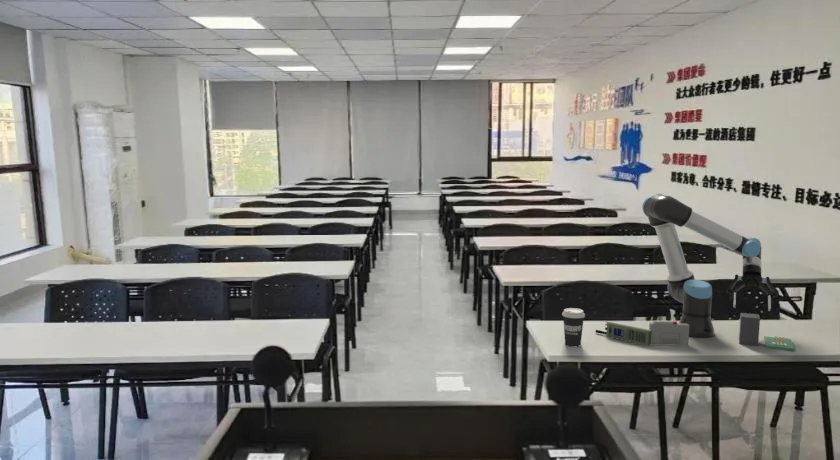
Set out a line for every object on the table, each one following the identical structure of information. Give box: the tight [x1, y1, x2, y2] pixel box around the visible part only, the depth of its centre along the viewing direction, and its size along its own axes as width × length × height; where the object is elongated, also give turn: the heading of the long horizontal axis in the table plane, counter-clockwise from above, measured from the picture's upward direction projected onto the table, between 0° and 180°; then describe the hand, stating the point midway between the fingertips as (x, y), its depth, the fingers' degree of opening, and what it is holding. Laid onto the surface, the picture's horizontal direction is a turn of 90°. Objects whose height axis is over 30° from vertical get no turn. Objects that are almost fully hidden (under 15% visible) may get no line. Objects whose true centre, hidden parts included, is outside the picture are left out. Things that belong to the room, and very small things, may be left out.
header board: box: [763, 335, 795, 352], centre depth 255 cm, size 10×14×4 cm
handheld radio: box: [595, 321, 652, 347], centre depth 264 cm, size 7×3×25 cm
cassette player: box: [648, 320, 690, 346], centre depth 257 cm, size 16×3×10 cm, turn 82°
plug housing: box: [738, 312, 761, 347], centre depth 257 cm, size 7×7×12 cm
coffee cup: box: [561, 307, 586, 347], centre depth 257 cm, size 10×10×15 cm
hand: (751, 308), depth 264 cm, fingers open, 13 cm apart
